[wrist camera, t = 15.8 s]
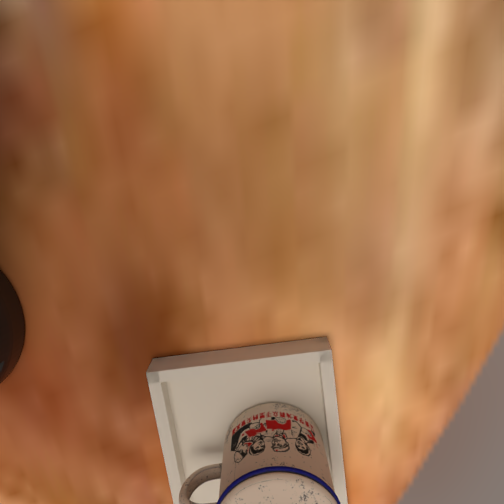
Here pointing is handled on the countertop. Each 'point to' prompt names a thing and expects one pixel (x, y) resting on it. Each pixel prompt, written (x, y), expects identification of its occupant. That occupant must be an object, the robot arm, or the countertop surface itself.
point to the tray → (239, 403)
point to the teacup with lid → (269, 461)
